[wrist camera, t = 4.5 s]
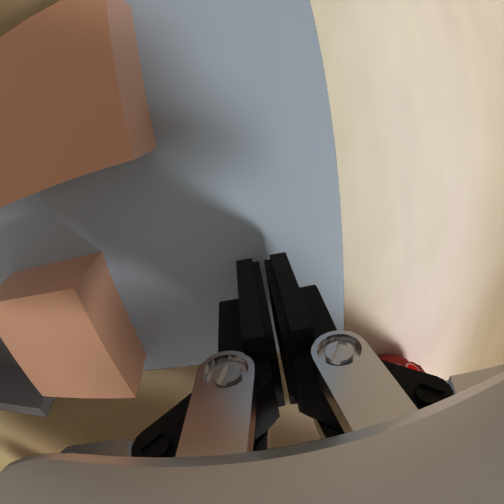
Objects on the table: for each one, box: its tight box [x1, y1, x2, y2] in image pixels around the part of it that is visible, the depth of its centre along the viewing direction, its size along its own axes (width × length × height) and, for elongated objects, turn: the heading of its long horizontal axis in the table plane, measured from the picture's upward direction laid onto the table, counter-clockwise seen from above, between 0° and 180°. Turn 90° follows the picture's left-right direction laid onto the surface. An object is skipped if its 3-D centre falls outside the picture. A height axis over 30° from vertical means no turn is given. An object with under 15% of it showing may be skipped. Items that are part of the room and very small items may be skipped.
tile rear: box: [0, 252, 147, 398], centre depth 10 cm, size 5×5×2 cm
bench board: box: [0, 0, 344, 370], centre depth 11 cm, size 16×15×2 cm
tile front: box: [0, 0, 157, 208], centre depth 7 cm, size 5×5×2 cm
